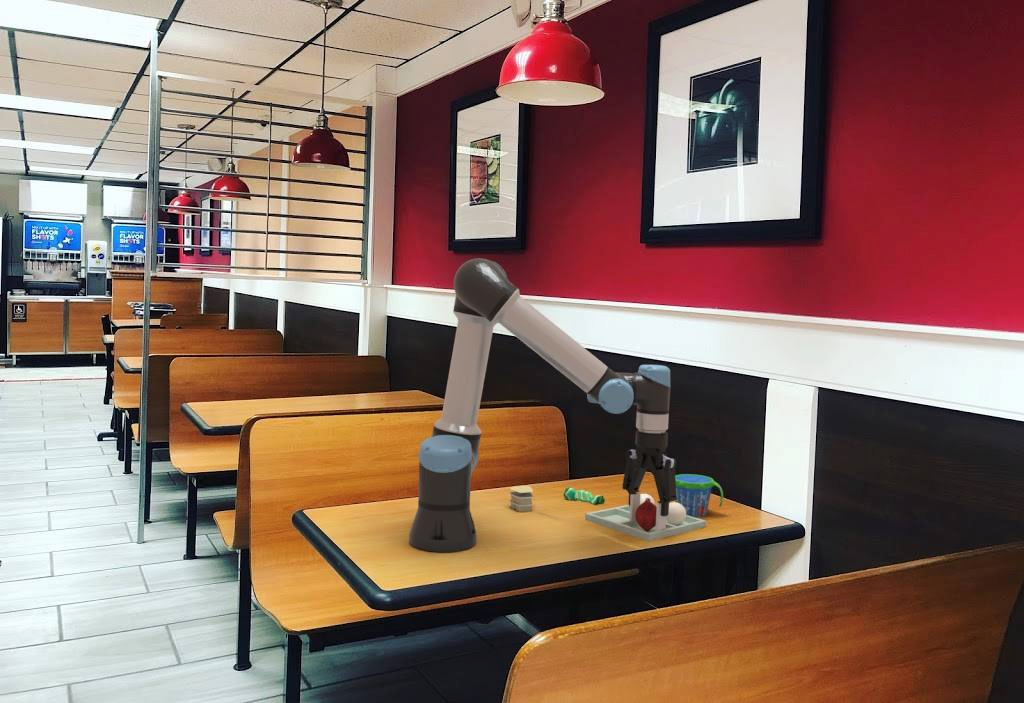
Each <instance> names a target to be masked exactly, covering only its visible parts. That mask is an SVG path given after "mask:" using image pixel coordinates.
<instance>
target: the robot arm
mask: <svg viewBox="0 0 1024 703" xmlns="http://www.w3.org/2000/svg"><path fill="white" fill-rule="evenodd" d="M453 289H454V292H455V299H454V303H453V304H454V305H453V311H452V313H453V314H454V316H455V317H456V318H457V323H456V324H457V325H456V331H455V337H454V343H453V349H452V356H451V360H450V364H449V365H450V366H449V372H448V378H447V384H446V390H445V393H444V394H445V395H444V399H443V406H442V407H443V408H442V412H441V418H439V419H438V420H436V422H434V423H433V426H432V433H431V437H428V438H426V439H424V440H423V441H422V442H421V444H420V446H419V452H418V460H419V464H418V465H419V466H418V467H419V468H418V499H417V500H418V501H417V502H418V504H417V510H416V513H415V516H414V519H413V522H412V526H411V528H410V531H409V541H408V542H409V544H410V545H411V546H412V547H414V548H417V549H419V550H423V551H427V552H428V551H429V552H438V553H449V552H450V553H451V552H453V553H454V552H461V551H465V550H469V549H471V548H472V547H474V546H476V544H477V530H476V525H475V523H474V520H473V516H472V512H471V509H470V508H471V506H470V504H471V480H472V474H473V472H474V471H475V470H476V467H477V466H478V463H479V457H480V454H479V452H480V451H479V448H480V442H481V436H482V429H481V428H480V427H479V425H478V417H479V412H480V406H481V401H482V400H481V399H482V395H483V389H484V382H485V378H486V373H487V367H488V366H487V365H488V360H489V356H490V354H489V353H490V350H491V349H490V348H491V342H492V338H493V332H494V327H495V326H496V325H497V324H500V325H501V326H502V327H503V328H505V329H506V330H507V331H509V333H510V334H512V335H514V336H515V337H516V338H517V339H518V340H520V341H521V342H522V343H523V344H525V345H526V347H528V348H529V349H531V350H532V351H534V352H535V353H536V354H538V356H540V357H541V358H542V359H543V360H545V361H546V362H547V363H549V364H550V365H551V366H552V367H553V368H555V369H556V370H557V371H559V372H560V373H561V374H562V375H564V376H565V377H566V378H567V379H569V380H570V381H571V382H572V383H574V385H576V386H578V388H579V389H581V390H582V391H583V392H584V393H586V395H587V397H586V398H587V401H588V402H589V403H593V404H598V405H600V407H601V408H602V409H604V410H605V411H606V412H607V413H611V414H615V415H617V414H618V415H619V414H623V413H625V412H627V411H628V410H629V409H630V408H631V406H632V405H636V408H637V409H636V418H635V427H636V429H637V430H636V431H635V439H634V440H635V441H634V443H635V445H636V449H635V448H634V449H628V450H626V451H625V455H626V462H625V468H624V473H623V474H624V475H623V479H622V480H623V481H622V487H621V488H622V489H623V490H625V491H627V492H628V504H627V505H629V506H630V520H629V521H631V522H633V521H636V518H635V514H636V510H637V508H638V507H639V506H640V495H641V494H642V493H640V492H641V491H640V487H641V484H642V482H643V480H644V477H645V474H646V473H647V470H649V471H650V472H651V474H652V475H653V479H654V482H655V486H656V490H657V494H658V498H659V500H658V501H657V502H656V506H657V511H656V530H661V529H665V528H666V516H668V514H669V503H672V502H676V500H677V494H676V480H675V476H676V464H677V459H676V458H670V457H668V456H667V453H666V449H667V447H668V437H669V433H668V432H667V430H668V429H669V412H670V399H671V398H670V397H671V388H672V387H671V369H670V368H669V367H668V366H666V365H660V364H641V365H640V366H639V367H638V371H637V372H632V373H631V372H616V371H613V370H612V369H611V368H609V367H608V366H607V365H606V364H605V363H604V362H602V360H599V358H597V357H596V356H595V355H594V354H592V352H590V351H589V350H587V348H585V347H584V346H583V345H582V344H580V343H578V341H577V340H575V339H574V338H573V337H571V336H570V335H569V334H567V333H566V331H564V330H563V329H562V328H560V327H559V326H558V325H557V324H555V323H554V322H553V321H551V320H550V319H549V318H548V317H546V316H545V315H544V314H543V313H541V312H540V311H539V310H538V309H537V308H535V307H534V306H533V305H532V304H530V302H528V301H527V300H525V299H524V298H523V297H522V296H521V294H520V289H519V288H518V287H516V286H515V285H514V284H513V283H512V282H510V281H509V279H508V276H507V273H506V271H505V270H504V268H503V266H501V265H500V264H498V263H497V262H495V261H492V260H489V259H487V258H481V257H479V258H478V257H477V258H472V259H469V260H467V261H466V262H464V263H462V264H461V266H459V268H458V269H457V271H456V273H455V275H454V278H453ZM664 496H665V497H664Z"/></svg>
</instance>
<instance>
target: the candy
mask: <svg viewBox="0 0 1024 703" xmlns="http://www.w3.org/2000/svg"><path fill="white" fill-rule="evenodd" d="M563 492H564V493H563V494H562V495H563V498H564V499H565V500H567V499H569V500H568V501H572V500H574V499H575V502H579V501H580V502H581V501H582V502H585V503H586V502H587V503H591V504H592V505H594V506H596V505H597V504H596V503H600V504H605V501H606V500H605V497H604V496H603V495H599V494H597V495H594V496H593V494H592V492H591V491H590V492H589V491H586V490H584V489H579V490H575V489H574V488H573V487H571V486H569V487H567V488H565V490H564V491H563Z"/></svg>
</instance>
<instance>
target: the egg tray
mask: <svg viewBox="0 0 1024 703" xmlns="http://www.w3.org/2000/svg"><path fill="white" fill-rule="evenodd" d="M655 506H656V507H657V505H655ZM584 515H585V516H584V518H585V519H584V520H585V521H588V522H591V523H594V524H597V525H600V526H604V527H606V528H609V529H612V530H615V531H618V532H621V533H624V534H627V535H630V536H632V537H636V538H639V539H641V540H645V541H648V542H652V541H655V540H660V539H662V538H667V537H671V536H675V535H681V534H684V533H688V532H691V531H696V530H699V529H703V528H707V520H704V519H701V518H699V517H691V516H688V515H686V518H685V520H684V522H683V523H681V524H679V525H672V524H669V523H667V522H666V528H665V529H661V530H656V526H655V527H653V528H652V529H651V530H650V531H645V530H644V529H642V528H641V527H640V526H639V525H638V523H637V522H636V521H633V522H631V521H629V520H630V506H629V504H626V505H621V506H615V507H611V508H606V509H602V510H596V511H591V512H585V514H584Z"/></svg>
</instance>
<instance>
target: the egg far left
mask: <svg viewBox="0 0 1024 703" xmlns="http://www.w3.org/2000/svg"><path fill="white" fill-rule="evenodd" d="M640 494H641V495H640V505H641V504H642V503H644V502H645V500H646V498H649V499H651V500H650V501H651V503H653V504H654V505H655V506H656V502H655V499H654V498H653V497H652V495H650V494H647V493H640Z"/></svg>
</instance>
